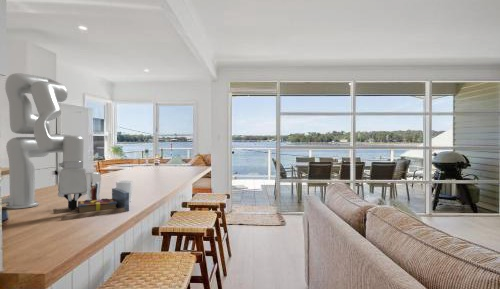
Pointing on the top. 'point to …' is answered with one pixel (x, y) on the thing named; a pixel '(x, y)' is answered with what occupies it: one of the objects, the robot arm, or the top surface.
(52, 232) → the top surface
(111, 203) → the decorative book
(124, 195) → the guide rails
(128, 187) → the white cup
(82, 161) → the robot arm
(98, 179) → the beer glass
